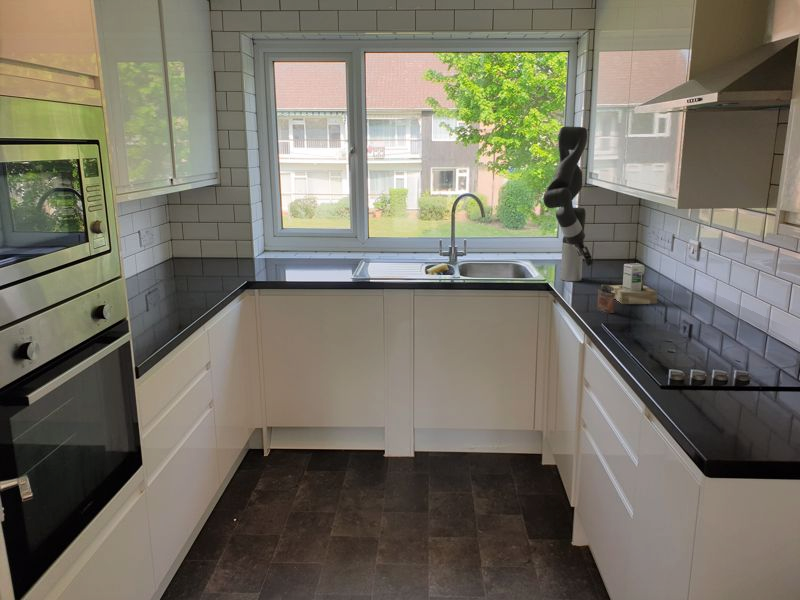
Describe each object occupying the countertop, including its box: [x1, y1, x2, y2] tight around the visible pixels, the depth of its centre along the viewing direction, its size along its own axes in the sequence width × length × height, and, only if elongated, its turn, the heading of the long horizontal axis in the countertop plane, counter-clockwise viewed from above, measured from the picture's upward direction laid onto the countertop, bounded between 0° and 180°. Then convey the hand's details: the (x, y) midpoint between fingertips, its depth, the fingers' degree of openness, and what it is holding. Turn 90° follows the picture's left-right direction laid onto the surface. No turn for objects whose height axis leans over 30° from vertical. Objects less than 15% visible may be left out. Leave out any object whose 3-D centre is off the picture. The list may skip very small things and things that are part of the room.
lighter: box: [596, 284, 615, 314], centre depth 235 cm, size 8×3×10 cm, turn 21°
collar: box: [609, 284, 659, 305], centre depth 252 cm, size 14×14×4 cm
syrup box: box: [622, 262, 645, 291], centre depth 251 cm, size 6×6×14 cm
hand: (585, 259), depth 258 cm, fingers open, 8 cm apart
